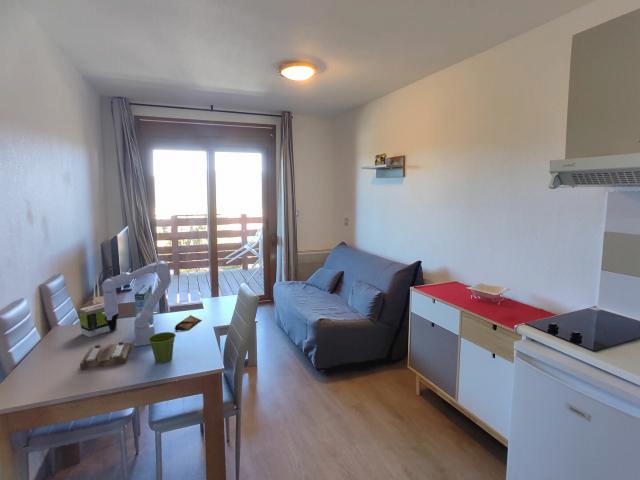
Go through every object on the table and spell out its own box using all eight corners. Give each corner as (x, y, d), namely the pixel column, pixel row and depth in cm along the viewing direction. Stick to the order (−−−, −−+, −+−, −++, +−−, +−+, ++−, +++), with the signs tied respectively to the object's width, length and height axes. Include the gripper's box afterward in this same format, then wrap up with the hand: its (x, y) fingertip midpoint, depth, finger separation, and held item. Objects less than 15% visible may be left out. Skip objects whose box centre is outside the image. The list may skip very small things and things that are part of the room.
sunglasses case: (189, 330, 203) (182, 320, 203) (179, 336, 204) (172, 326, 204) (202, 319, 221) (196, 310, 220) (193, 324, 222) (187, 315, 221)
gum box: (145, 322, 218) (142, 285, 214) (154, 321, 219) (151, 284, 216) (136, 334, 199) (133, 294, 196) (146, 333, 200) (143, 293, 197)
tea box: (109, 325, 212) (107, 301, 210) (117, 329, 206) (115, 304, 204) (80, 333, 200) (78, 308, 198) (88, 338, 194) (86, 311, 192)
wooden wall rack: (131, 347, 182) (131, 338, 182) (126, 362, 165) (125, 353, 165) (90, 352, 176) (89, 343, 175) (80, 369, 159) (79, 359, 159)
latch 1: (101, 348, 174) (100, 347, 173) (94, 360, 162) (94, 358, 162) (93, 349, 173) (93, 348, 172) (87, 361, 161) (86, 359, 161)
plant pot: (150, 357, 171) (148, 334, 170) (176, 352, 176) (175, 330, 174) (149, 368, 160) (147, 344, 159) (177, 363, 165) (176, 339, 164)
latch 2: (124, 345, 177) (124, 344, 177) (119, 356, 165) (119, 355, 165) (117, 346, 176) (117, 345, 176) (112, 357, 164) (112, 356, 164)
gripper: (104, 300, 184) (106, 325, 186) (98, 308, 171) (101, 335, 173) (119, 298, 187) (121, 323, 189) (115, 306, 174) (117, 333, 175)
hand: (112, 329), depth 181 cm, fingers closed
